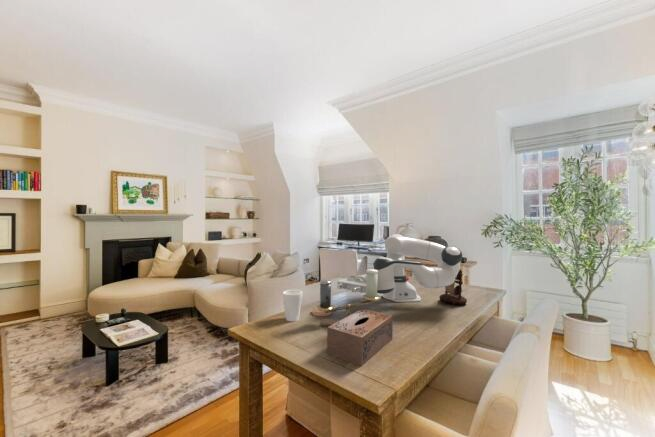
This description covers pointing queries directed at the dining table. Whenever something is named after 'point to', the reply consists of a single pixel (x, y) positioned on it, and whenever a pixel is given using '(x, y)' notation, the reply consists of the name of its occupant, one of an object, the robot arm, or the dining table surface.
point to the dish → (320, 313)
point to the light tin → (371, 283)
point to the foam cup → (292, 304)
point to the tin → (325, 294)
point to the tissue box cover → (359, 336)
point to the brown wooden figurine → (454, 291)
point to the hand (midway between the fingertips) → (345, 288)
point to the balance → (331, 321)
